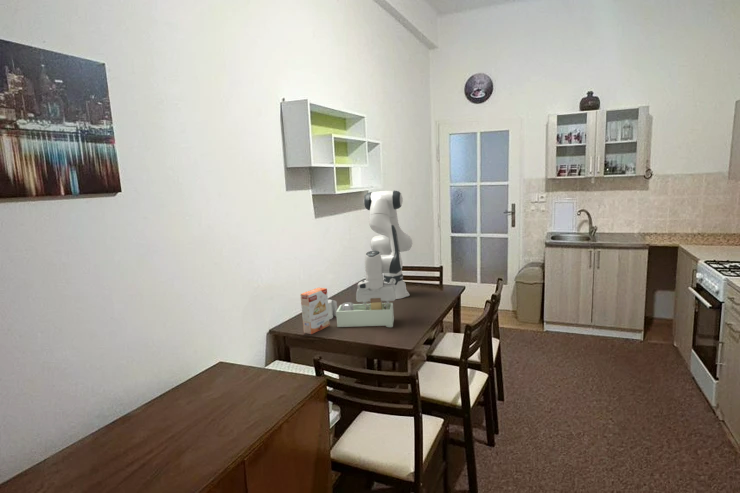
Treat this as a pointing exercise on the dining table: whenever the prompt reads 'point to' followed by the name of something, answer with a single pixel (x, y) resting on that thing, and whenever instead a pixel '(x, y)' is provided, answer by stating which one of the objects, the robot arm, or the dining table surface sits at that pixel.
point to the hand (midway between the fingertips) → (376, 309)
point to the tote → (365, 316)
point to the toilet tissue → (332, 308)
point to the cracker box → (315, 310)
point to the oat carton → (376, 304)
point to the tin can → (347, 306)
